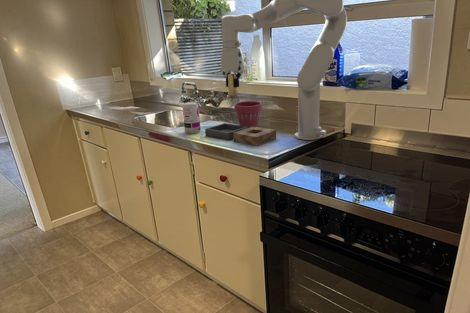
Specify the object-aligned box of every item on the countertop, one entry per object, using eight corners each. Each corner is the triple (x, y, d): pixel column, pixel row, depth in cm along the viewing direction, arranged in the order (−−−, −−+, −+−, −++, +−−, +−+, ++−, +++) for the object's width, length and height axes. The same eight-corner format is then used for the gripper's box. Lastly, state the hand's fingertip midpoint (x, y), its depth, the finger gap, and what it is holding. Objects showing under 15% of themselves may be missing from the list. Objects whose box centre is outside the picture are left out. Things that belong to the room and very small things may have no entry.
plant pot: (263, 129, 177) (262, 104, 173) (236, 131, 177) (234, 106, 173) (261, 123, 191) (260, 100, 187) (235, 125, 191) (234, 101, 187)
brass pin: (239, 97, 162) (238, 73, 159) (233, 98, 160) (232, 74, 156) (232, 96, 165) (231, 73, 161) (227, 98, 162) (225, 74, 158)
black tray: (248, 133, 172) (248, 126, 171) (228, 140, 162) (228, 133, 161) (225, 129, 182) (224, 123, 181) (205, 135, 173) (205, 128, 172)
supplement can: (201, 129, 186) (198, 101, 181) (200, 133, 178) (197, 104, 173) (186, 130, 186) (183, 102, 181) (184, 134, 178) (181, 105, 173)
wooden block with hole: (276, 138, 161) (276, 129, 159) (257, 145, 151) (256, 137, 150) (253, 134, 170) (252, 126, 169) (233, 141, 160) (233, 132, 159)
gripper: (250, 44, 152) (251, 87, 158) (223, 45, 163) (225, 84, 169) (239, 45, 147) (241, 89, 153) (211, 46, 157) (214, 86, 163)
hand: (232, 86), depth 161 cm, fingers closed on brass pin, 4 cm apart
